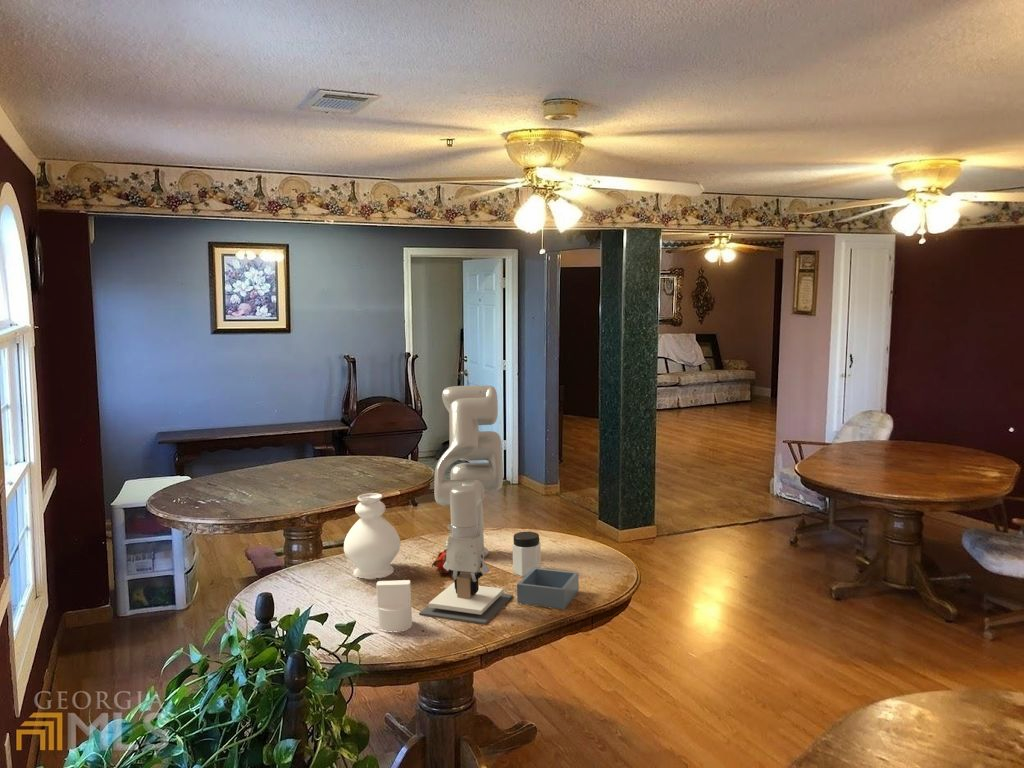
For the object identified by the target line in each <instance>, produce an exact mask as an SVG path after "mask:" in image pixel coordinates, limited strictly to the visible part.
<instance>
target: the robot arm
mask: <svg viewBox="0 0 1024 768" xmlns="http://www.w3.org/2000/svg"><path fill="white" fill-rule="evenodd" d="M441 398H442V402H443V405H444V407H445V409H446V410H447V412H448V413H449V415H448V416H449V417H448V419H449V421H448V423H449V424H448V425H449V427H448V428H449V430H448V431H449V432H448V433H449V445H448V448H447V449H446V451H444V452H443V453H442V455H441V457H439V459H438V461H437V463H436V465H435V469H434V486H433V487H434V489H433V490H434V491H433V492H434V500H435V503H437V505H438V506H442V507H450V509H449V511H450V523H449V524H447V526H446V529H447V530H449V531H450V533H449V534H448V537H447V540H446V541H445V549H447V552H446V562H445V563H444V565H443V567H444V568H445V569H446V570H447V571H449V572H448V573H449V574H450V576H451V577H452V579H453V580H454V583H455V589H456V593H457V576H459V575H460V574H461V573H462V572H465V573H471V577H472V581H471V595H475V594H476V593H477V591H478V589H479V586H480V585H479V579H481V578H482V576H484V575H486V574H487V573H489V572H490V568H489V566H488V565H487V564H486V561H485V558H487V557H488V556H489V555H490V554H489V549H488V548H487V547H485V541H484V540H485V539H484V535H485V534H484V510H483V509H484V508H483V502H482V501H483V500H484V498H485V492H491V491H492V492H495V491H498V490H500V489H502V487H503V482H504V469H503V467H504V466H503V463H504V462H503V444H502V439H501V436H500V434H499V433H498V432H496V431H492V430H490V431H489V430H488V431H487V430H485V431H482V430H479V426H490V425H491V426H492V425H494V424H495V423H496V422H497V419H498V413H499V412H498V411H499V409H498V408H499V407H498V406H499V405H498V404H499V403H498V393H497V389H496V388H495V387H494V386H493V385H485V384H484V385H455V386H448V387H445V388H444V389H443V390H442V394H441ZM457 461H470V462H461V463H458V464H457V463H456V462H457ZM471 461H482V462H471ZM483 461H486V462H483ZM454 463H456V464H455V465H453V466H452V468H451V470H450V473H449V474H450V479H445V473H446V471H447V469H448V468H449V467H450V466H451V465H452V464H454Z"/></svg>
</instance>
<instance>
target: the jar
mask: <svg viewBox="0 0 1024 768" xmlns="http://www.w3.org/2000/svg"><path fill="white" fill-rule="evenodd" d="M511 546H512V573H513V574H514V575H518V576H519V575H520V577H522V578H524V577H525V576H526V575H527V574H528V573H529V572H530V571H531V570H532V569H533V568H542V556H541V555H542V554H541V553H542V551H541V550H542V549H541V542H540V535H539V533H538V532H535V531H520V532H516V533H514V535H513V544H512V545H511Z"/></svg>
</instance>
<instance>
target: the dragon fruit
mask: <svg viewBox="0 0 1024 768" xmlns="http://www.w3.org/2000/svg"><path fill="white" fill-rule="evenodd" d="M446 552H447V548H444V550H443V551H442V552H439V553H438V555H437V557H436V558H435V560H434V561H433V563H432V565H431V566H432V568H433V567H435V568H436V572H437V573H439V574H442V573H443V574H447V573H449V571H447V570H446V569H445V568H444V567H443V565H444V563H445V562H446Z"/></svg>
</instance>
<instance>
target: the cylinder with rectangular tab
mask: <svg viewBox="0 0 1024 768" xmlns="http://www.w3.org/2000/svg"><path fill="white" fill-rule="evenodd" d="M375 585H376V602H377V603H376V604H377V619H378V620H377V623H378V625H377V626H379V627H378V629H379V628H380V629H383V630H386V631H392V632H394V631H397V632H396V633H399V632H398V631H402V632H404V631H403V630H405V631H407V630H409V629H410V628H411V627H412V626H413V619H412V618H413V615H412V594H411V592H412V591H411V580H410V579H407V580H406V579H402V580H378V581H377V582H376V584H375ZM411 625H412V626H411ZM409 627H410V628H409ZM408 628H409V629H408ZM380 629H379V630H380ZM406 629H407V630H406Z"/></svg>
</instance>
